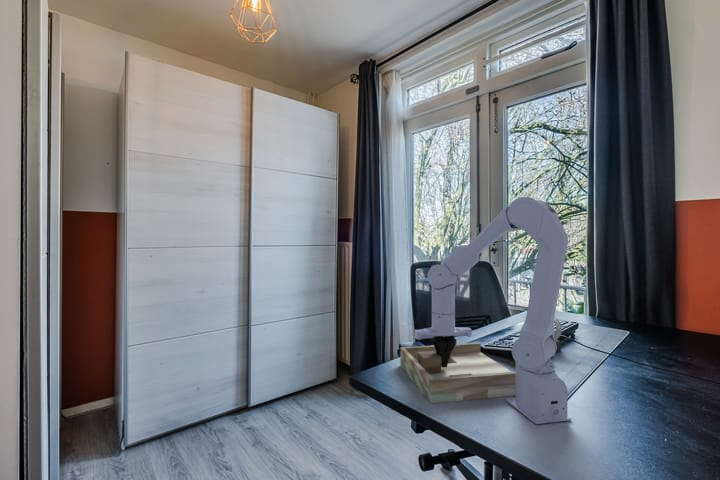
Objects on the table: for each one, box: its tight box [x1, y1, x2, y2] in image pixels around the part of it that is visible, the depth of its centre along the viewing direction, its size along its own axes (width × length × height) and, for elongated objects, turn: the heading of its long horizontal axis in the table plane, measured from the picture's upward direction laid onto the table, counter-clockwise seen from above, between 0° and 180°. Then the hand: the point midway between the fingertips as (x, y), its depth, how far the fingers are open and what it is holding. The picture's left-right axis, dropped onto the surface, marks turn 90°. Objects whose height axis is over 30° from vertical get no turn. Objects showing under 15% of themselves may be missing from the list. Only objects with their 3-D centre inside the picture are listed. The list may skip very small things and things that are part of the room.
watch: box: [553, 316, 563, 353], centre depth 106 cm, size 6×8×11 cm
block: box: [418, 351, 441, 374], centre depth 83 cm, size 4×4×4 cm
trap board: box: [399, 342, 516, 404], centre depth 84 cm, size 22×24×5 cm
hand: (443, 365), depth 84 cm, fingers closed
